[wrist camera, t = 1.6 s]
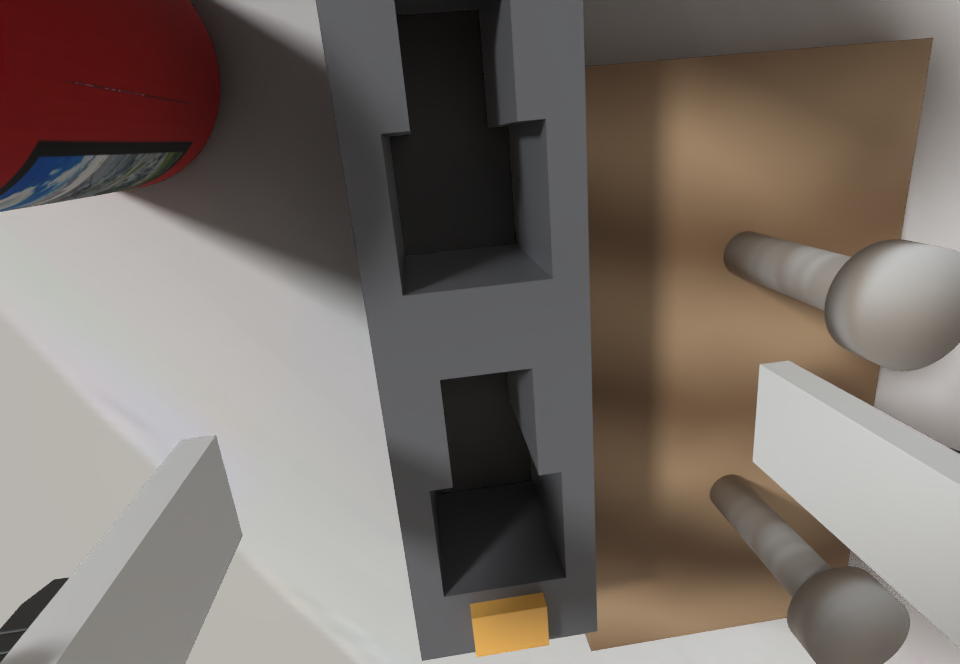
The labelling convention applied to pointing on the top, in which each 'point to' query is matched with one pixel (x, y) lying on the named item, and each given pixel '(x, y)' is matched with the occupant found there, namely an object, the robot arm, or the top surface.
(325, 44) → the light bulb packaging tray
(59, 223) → the top surface
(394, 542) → the top surface
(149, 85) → the beverage can
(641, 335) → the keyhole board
